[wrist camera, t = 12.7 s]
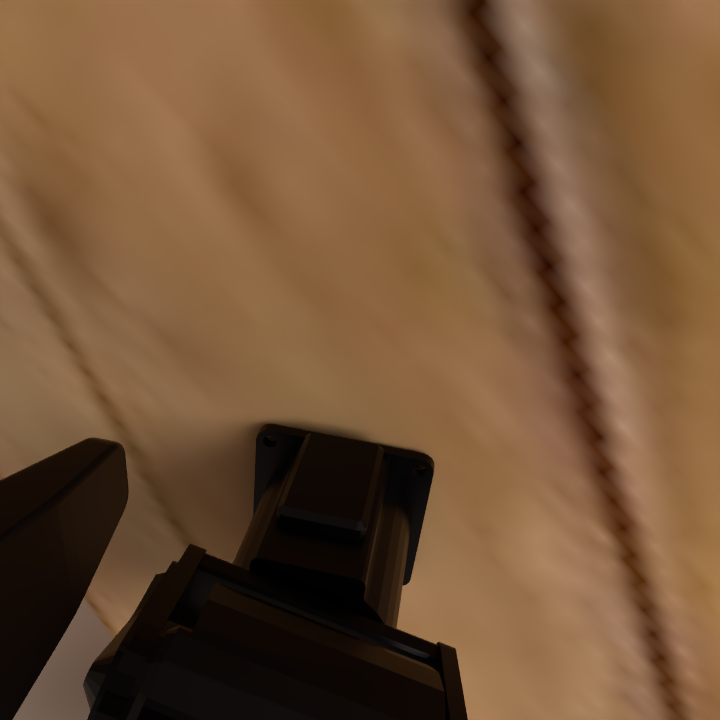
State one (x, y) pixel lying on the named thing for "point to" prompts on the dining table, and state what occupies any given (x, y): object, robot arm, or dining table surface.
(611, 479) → the dining table surface
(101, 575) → the dining table surface
